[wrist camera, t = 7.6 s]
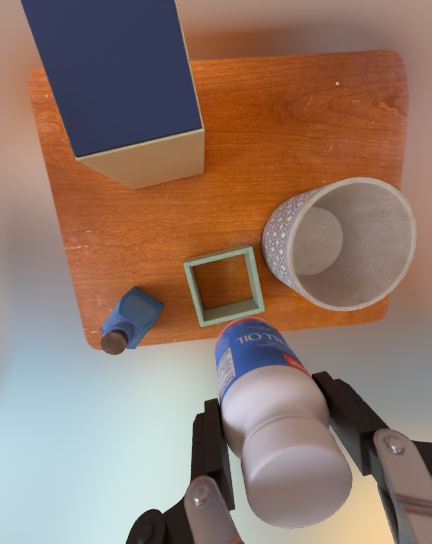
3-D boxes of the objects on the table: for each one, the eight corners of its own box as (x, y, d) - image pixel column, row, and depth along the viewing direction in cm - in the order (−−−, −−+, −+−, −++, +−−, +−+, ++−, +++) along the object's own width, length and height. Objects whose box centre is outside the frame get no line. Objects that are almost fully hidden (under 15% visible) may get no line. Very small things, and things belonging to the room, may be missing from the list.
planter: (317, 172, 36) (378, 144, 24) (364, 248, 39) (439, 258, 27) (241, 234, 37) (260, 238, 25) (292, 302, 41) (332, 335, 28)
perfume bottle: (163, 305, 39) (147, 338, 28) (145, 330, 40) (121, 373, 28) (134, 286, 38) (104, 312, 26) (116, 312, 39) (79, 349, 27)
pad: (77, 158, 19) (74, 156, 19) (22, 0, 17) (18, -6, 16) (202, 128, 19) (202, 126, 19) (166, -33, 17) (166, -39, 16)
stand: (132, 190, 35) (76, 160, 19) (107, 108, 32) (19, -3, 17) (203, 173, 35) (205, 130, 19) (184, 90, 32) (168, -36, 17)
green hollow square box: (200, 315, 40) (200, 327, 35) (185, 258, 38) (182, 263, 33) (257, 301, 40) (265, 311, 35) (246, 243, 38) (252, 246, 33)
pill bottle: (289, 322, 17) (399, 442, 8) (268, 379, 18) (344, 550, 9) (223, 307, 16) (255, 419, 7) (206, 367, 17) (212, 538, 8)
